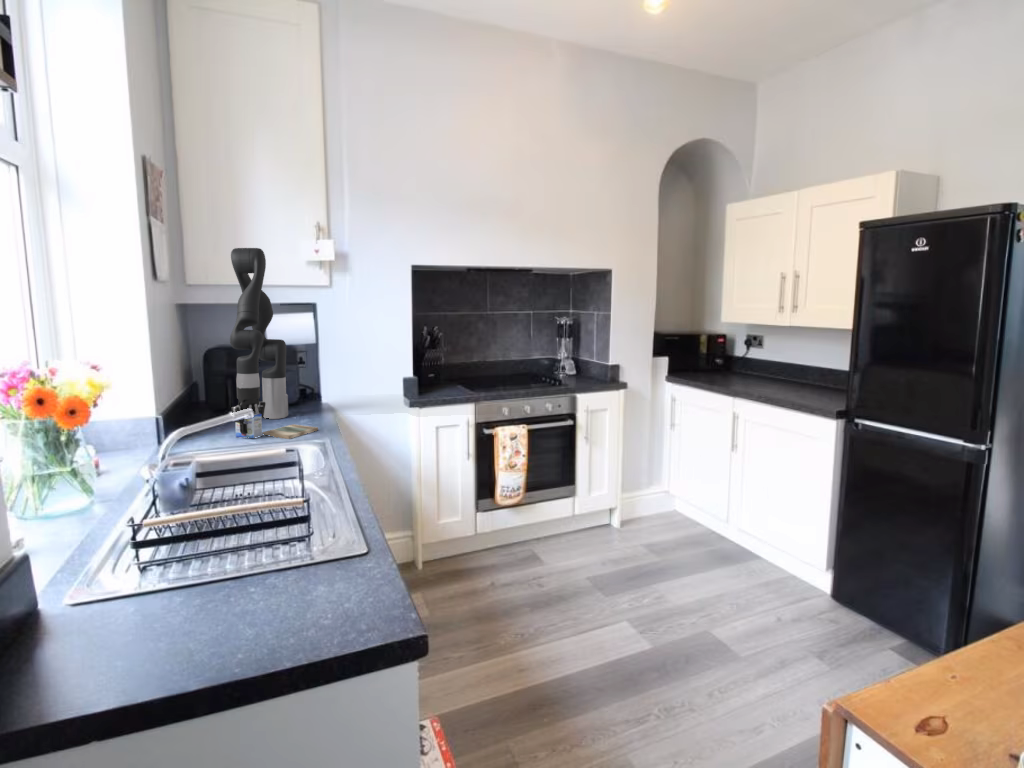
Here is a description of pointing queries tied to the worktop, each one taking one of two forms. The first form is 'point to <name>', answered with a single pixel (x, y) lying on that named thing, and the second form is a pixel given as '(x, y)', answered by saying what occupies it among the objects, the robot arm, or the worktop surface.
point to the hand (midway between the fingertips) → (249, 431)
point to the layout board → (290, 431)
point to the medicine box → (251, 427)
